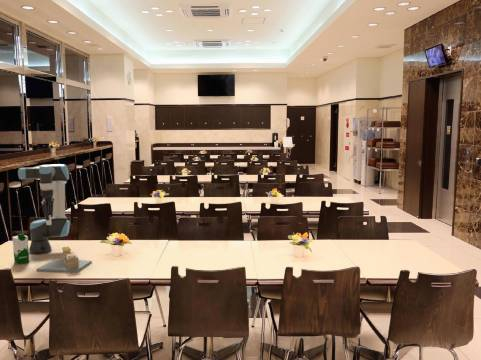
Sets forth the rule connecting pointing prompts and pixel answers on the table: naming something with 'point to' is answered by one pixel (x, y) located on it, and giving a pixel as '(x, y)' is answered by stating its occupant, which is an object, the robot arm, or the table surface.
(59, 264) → the deck
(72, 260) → the link
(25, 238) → the milk carton
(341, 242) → the table surface
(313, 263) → the table surface
